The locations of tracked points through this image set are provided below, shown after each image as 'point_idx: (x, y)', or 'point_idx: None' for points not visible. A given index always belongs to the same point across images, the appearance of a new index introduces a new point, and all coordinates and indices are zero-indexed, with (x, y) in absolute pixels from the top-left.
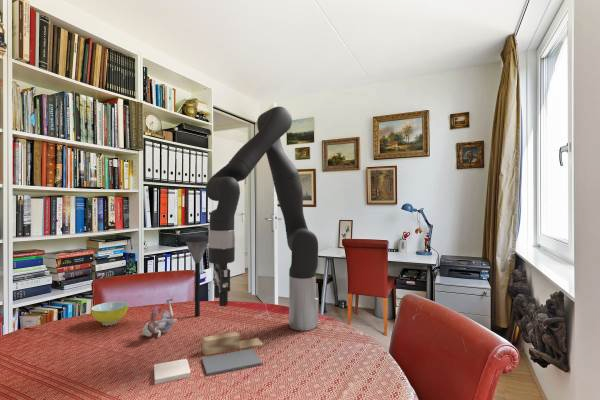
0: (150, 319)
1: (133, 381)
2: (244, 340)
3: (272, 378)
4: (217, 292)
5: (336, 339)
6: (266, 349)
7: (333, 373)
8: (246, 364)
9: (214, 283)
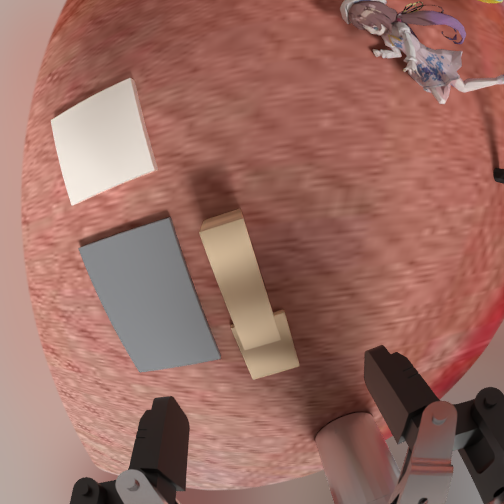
0: (404, 9)
1: (81, 62)
2: (288, 336)
3: (90, 376)
4: (380, 386)
5: (257, 466)
6: (226, 382)
7: (125, 443)
8: (126, 342)
9: (427, 421)
